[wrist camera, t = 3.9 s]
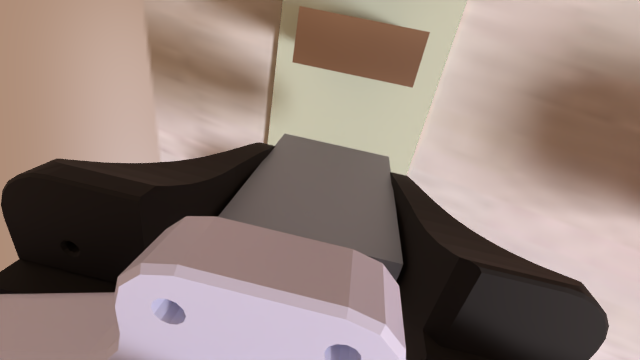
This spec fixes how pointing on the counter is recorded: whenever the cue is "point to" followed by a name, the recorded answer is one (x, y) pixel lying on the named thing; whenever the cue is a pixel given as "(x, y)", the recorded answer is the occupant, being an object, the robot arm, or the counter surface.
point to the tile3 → (358, 46)
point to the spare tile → (324, 198)
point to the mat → (362, 82)
